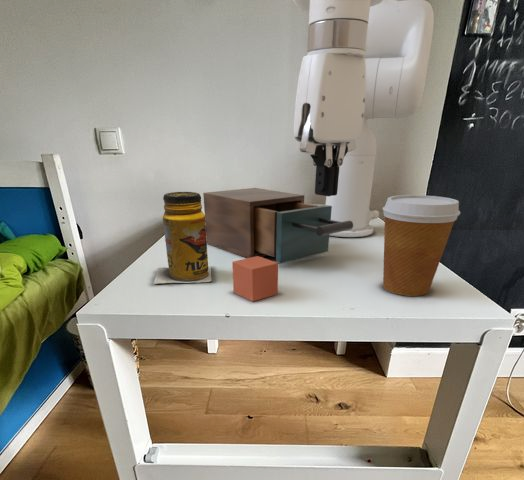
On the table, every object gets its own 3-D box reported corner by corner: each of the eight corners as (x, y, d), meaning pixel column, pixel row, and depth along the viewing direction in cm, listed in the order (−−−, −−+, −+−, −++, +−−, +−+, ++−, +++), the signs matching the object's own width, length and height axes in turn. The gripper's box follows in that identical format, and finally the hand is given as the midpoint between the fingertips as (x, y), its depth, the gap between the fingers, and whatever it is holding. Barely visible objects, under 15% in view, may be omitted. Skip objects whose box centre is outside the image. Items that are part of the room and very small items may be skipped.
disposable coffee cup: (358, 281, 58) (369, 196, 52) (411, 274, 61) (427, 193, 55) (398, 304, 50) (416, 207, 44) (456, 295, 53) (480, 203, 47)
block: (258, 285, 56) (257, 255, 54) (277, 294, 53) (278, 262, 51) (233, 292, 54) (232, 261, 52) (252, 301, 51) (252, 269, 49)
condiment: (211, 282, 58) (206, 196, 52) (153, 284, 57) (141, 197, 51) (210, 267, 64) (205, 189, 58) (158, 269, 63) (147, 190, 57)
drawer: (357, 259, 65) (363, 211, 61) (309, 273, 59) (313, 219, 55) (278, 237, 79) (279, 197, 75) (232, 246, 72) (231, 202, 69)
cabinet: (301, 247, 75) (304, 195, 71) (250, 259, 68) (249, 201, 64) (255, 234, 85) (255, 187, 80) (206, 243, 78) (203, 192, 74)
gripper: (351, 53, 57) (339, 188, 66) (274, 42, 49) (272, 197, 58) (395, 46, 52) (375, 193, 61) (317, 32, 44) (308, 203, 53)
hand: (325, 194), depth 59 cm, fingers closed
